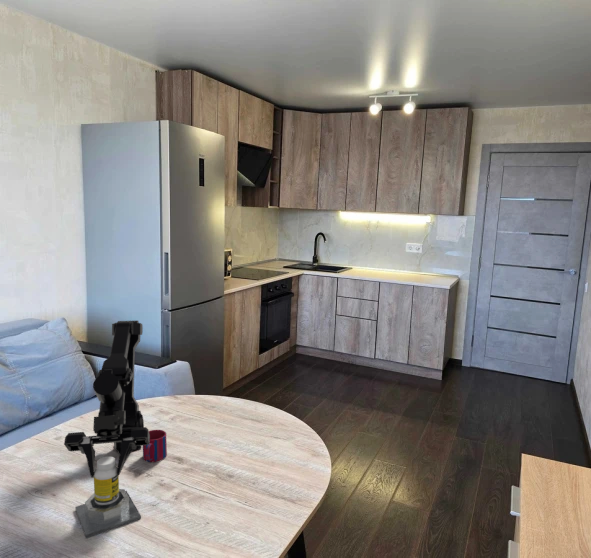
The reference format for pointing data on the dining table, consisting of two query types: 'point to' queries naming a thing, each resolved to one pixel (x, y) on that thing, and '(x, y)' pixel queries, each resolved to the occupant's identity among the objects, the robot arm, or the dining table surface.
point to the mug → (155, 446)
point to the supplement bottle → (106, 481)
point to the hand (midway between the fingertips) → (105, 476)
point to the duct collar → (106, 514)
